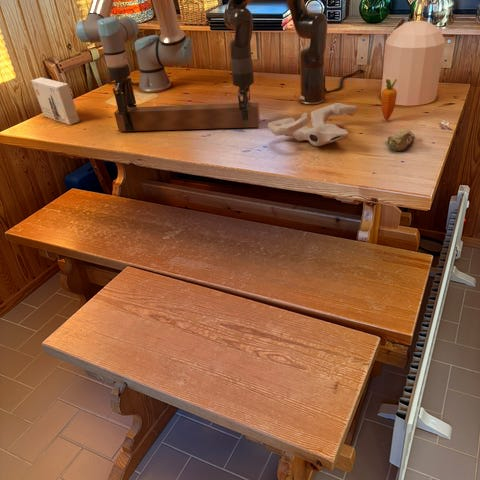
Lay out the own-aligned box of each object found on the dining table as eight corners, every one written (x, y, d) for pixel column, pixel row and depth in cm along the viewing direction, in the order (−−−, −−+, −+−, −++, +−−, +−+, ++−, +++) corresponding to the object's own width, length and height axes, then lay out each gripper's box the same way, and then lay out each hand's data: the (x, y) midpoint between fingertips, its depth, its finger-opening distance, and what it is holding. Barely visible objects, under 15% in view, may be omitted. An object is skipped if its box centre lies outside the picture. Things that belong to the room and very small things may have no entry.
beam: (118, 131, 178) (114, 112, 174) (123, 126, 182) (118, 107, 178) (258, 127, 169) (257, 106, 165) (259, 121, 173) (258, 102, 169)
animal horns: (266, 154, 150) (264, 118, 144) (276, 126, 172) (275, 94, 165) (355, 154, 144) (357, 117, 138) (355, 125, 166) (356, 92, 159)
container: (406, 109, 173) (416, 29, 157) (369, 95, 189) (375, 21, 173) (448, 97, 179) (462, 19, 163) (409, 85, 195) (418, 12, 180)
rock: (408, 140, 153) (379, 139, 152) (414, 122, 149) (384, 120, 148) (421, 154, 144) (391, 153, 143) (428, 135, 140) (396, 133, 139)
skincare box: (42, 117, 201) (30, 80, 192) (53, 113, 205) (42, 76, 196) (69, 125, 189) (57, 86, 180) (80, 121, 193) (69, 82, 184)
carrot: (394, 118, 167) (398, 76, 158) (393, 123, 163) (397, 80, 154) (379, 117, 168) (383, 75, 160) (378, 122, 165) (382, 80, 156)
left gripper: (119, 72, 158) (133, 136, 171) (135, 58, 172) (148, 118, 186) (98, 73, 159) (114, 136, 172) (116, 59, 173) (130, 118, 187)
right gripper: (250, 75, 154) (254, 124, 164) (255, 63, 166) (258, 110, 176) (228, 76, 156) (233, 125, 165) (234, 65, 167) (238, 110, 177)
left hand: (132, 127), depth 179 cm, fingers closed on beam, 5 cm apart
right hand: (246, 117), depth 170 cm, fingers closed on beam, 5 cm apart
